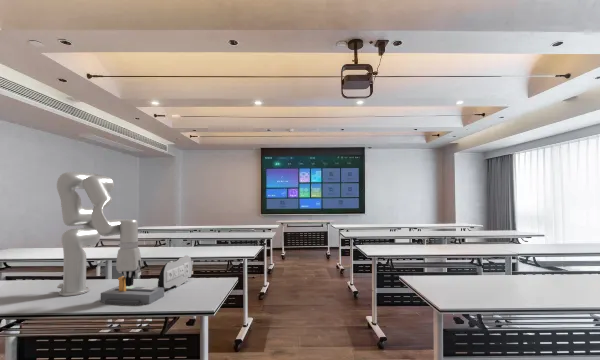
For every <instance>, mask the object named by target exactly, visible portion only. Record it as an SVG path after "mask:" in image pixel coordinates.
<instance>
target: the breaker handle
mask: <svg viewBox="0 0 600 360" xmlns="http://www.w3.org/2000/svg"><path fill="white" fill-rule="evenodd" d="M117 279H118V286H119V291H126V283H125V277H124V275H122V276H120V277H118V278H117Z"/></svg>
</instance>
